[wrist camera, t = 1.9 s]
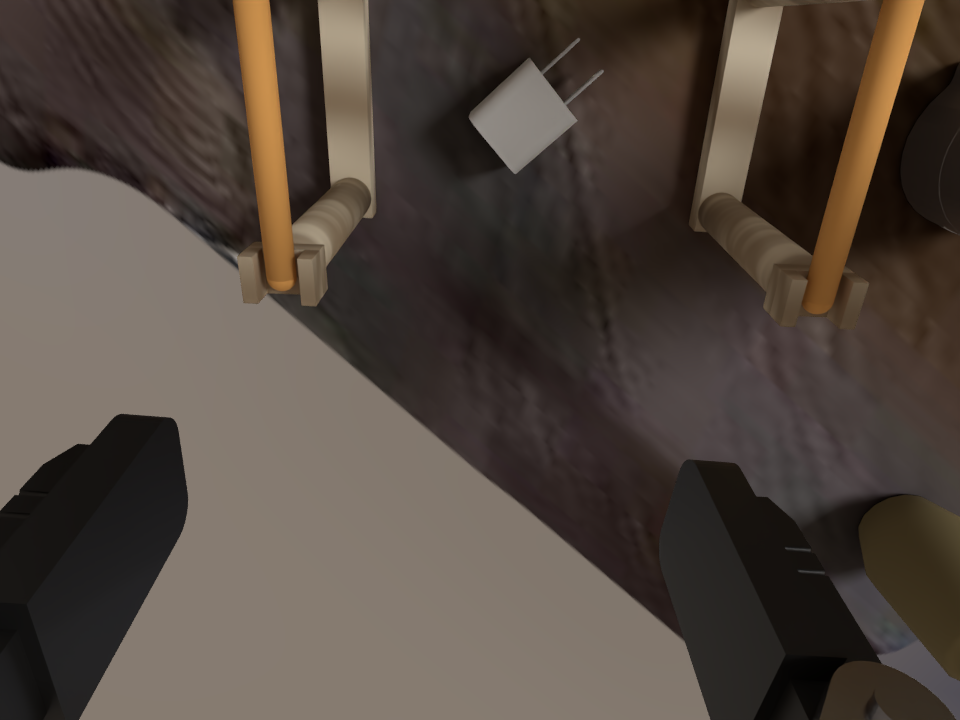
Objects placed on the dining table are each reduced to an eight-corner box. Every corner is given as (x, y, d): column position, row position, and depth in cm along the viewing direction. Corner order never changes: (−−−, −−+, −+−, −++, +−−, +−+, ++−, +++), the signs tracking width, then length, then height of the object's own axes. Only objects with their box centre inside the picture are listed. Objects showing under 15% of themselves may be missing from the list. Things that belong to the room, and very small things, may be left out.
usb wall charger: (471, 109, 38) (467, 118, 35) (565, 22, 36) (571, 22, 33) (515, 163, 40) (516, 176, 36) (608, 82, 38) (618, 87, 34)
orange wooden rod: (894, -65, 22) (914, -70, 20) (930, -64, 22) (953, -69, 20) (793, 307, 28) (805, 318, 27) (822, 308, 28) (834, 319, 26)
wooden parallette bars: (315, -60, 35) (183, -118, 21) (788, -43, 34) (989, -90, 20) (333, 210, 41) (244, 307, 27) (731, 226, 41) (852, 334, 27)
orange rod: (229, -89, 22) (215, -94, 21) (265, -87, 22) (253, -93, 21) (273, 284, 28) (264, 294, 27) (301, 285, 28) (293, 296, 27)
